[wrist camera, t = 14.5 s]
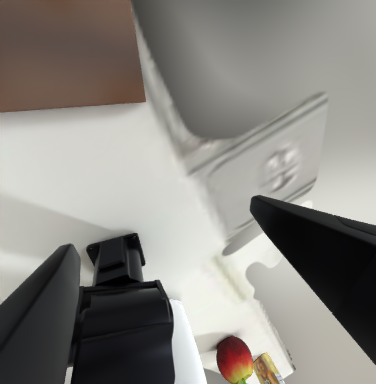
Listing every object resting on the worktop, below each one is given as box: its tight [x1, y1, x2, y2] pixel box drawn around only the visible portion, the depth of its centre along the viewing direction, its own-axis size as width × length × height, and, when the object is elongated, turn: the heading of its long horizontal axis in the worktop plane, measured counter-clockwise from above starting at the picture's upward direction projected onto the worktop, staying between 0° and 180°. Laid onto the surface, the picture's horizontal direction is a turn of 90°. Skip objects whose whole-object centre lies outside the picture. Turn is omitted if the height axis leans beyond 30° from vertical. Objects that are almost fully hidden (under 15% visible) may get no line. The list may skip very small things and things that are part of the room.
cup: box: [169, 299, 207, 384], centre depth 29 cm, size 8×8×14 cm
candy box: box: [253, 353, 285, 384], centre depth 75 cm, size 9×4×15 cm, turn 146°
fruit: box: [216, 336, 253, 384], centre depth 52 cm, size 11×11×10 cm
